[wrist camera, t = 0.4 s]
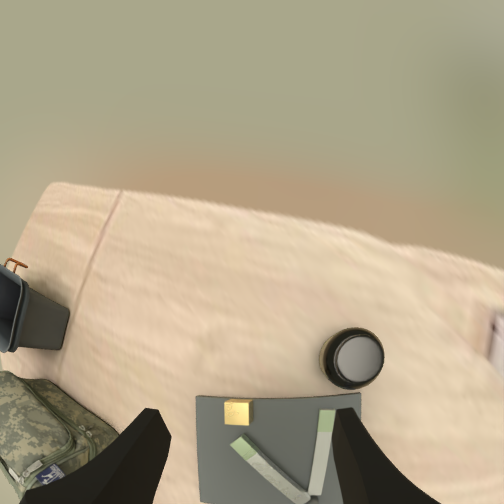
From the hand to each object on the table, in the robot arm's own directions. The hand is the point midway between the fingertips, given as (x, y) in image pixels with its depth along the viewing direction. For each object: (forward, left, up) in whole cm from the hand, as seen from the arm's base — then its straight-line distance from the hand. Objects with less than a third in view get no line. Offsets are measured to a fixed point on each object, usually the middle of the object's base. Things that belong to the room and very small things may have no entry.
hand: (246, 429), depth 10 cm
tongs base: (-12, +2, -27) cm, 30 cm away
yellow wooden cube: (-4, +6, -26) cm, 27 cm away
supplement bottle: (+2, -7, -27) cm, 28 cm away
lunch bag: (-16, +39, -27) cm, 50 cm away
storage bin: (+8, +49, -27) cm, 56 cm away
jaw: (-13, +2, -24) cm, 28 cm away
